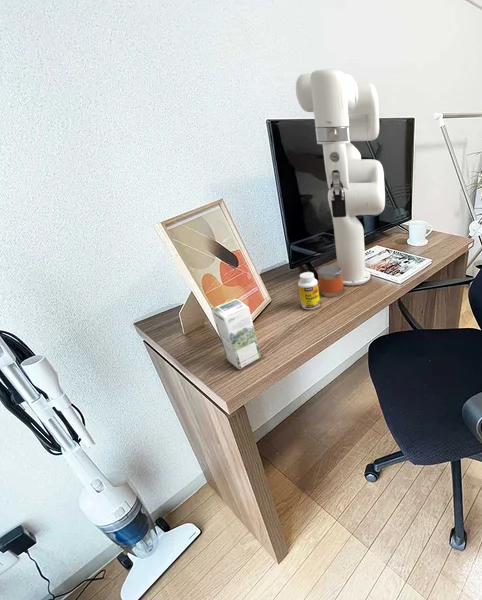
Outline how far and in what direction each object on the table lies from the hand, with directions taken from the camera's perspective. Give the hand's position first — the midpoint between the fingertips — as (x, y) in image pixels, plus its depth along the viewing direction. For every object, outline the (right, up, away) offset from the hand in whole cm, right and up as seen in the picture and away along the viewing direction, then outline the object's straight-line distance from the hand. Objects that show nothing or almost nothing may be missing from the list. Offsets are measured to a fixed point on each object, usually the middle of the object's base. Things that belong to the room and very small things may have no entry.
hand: (339, 211), depth 82 cm
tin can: (-6, -20, +23) cm, 31 cm away
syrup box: (-22, -37, -6) cm, 43 cm away
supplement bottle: (-11, -24, +15) cm, 31 cm away
